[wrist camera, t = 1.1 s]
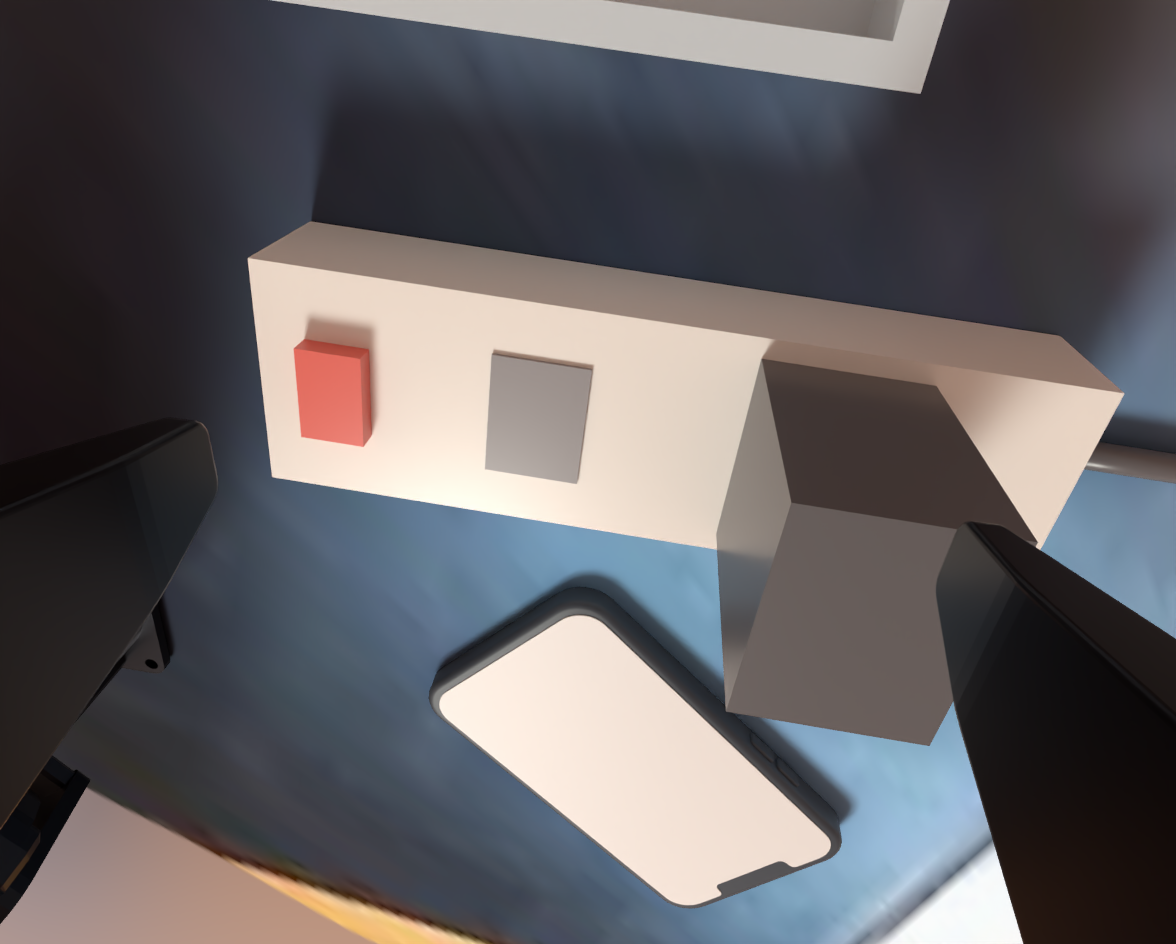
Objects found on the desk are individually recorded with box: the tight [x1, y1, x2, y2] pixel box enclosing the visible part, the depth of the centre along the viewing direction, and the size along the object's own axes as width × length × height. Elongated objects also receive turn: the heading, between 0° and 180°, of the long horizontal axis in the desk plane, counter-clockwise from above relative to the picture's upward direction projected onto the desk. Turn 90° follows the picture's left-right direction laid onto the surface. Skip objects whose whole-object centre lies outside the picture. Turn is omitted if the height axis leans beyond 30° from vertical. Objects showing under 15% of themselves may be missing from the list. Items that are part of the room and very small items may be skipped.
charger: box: [716, 359, 1038, 746], centre depth 17 cm, size 4×5×8 cm
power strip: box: [248, 221, 1176, 550], centre depth 20 cm, size 27×6×4 cm, turn 83°
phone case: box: [429, 587, 842, 908], centre depth 30 cm, size 9×2×16 cm
